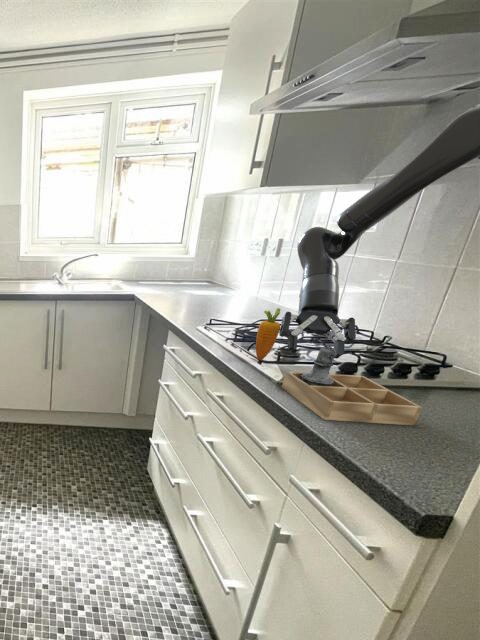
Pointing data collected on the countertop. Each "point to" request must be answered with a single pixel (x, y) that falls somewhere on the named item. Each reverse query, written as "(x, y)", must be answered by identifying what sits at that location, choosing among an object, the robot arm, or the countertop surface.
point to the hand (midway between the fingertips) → (314, 354)
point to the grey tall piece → (321, 368)
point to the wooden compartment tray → (352, 400)
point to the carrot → (267, 334)
